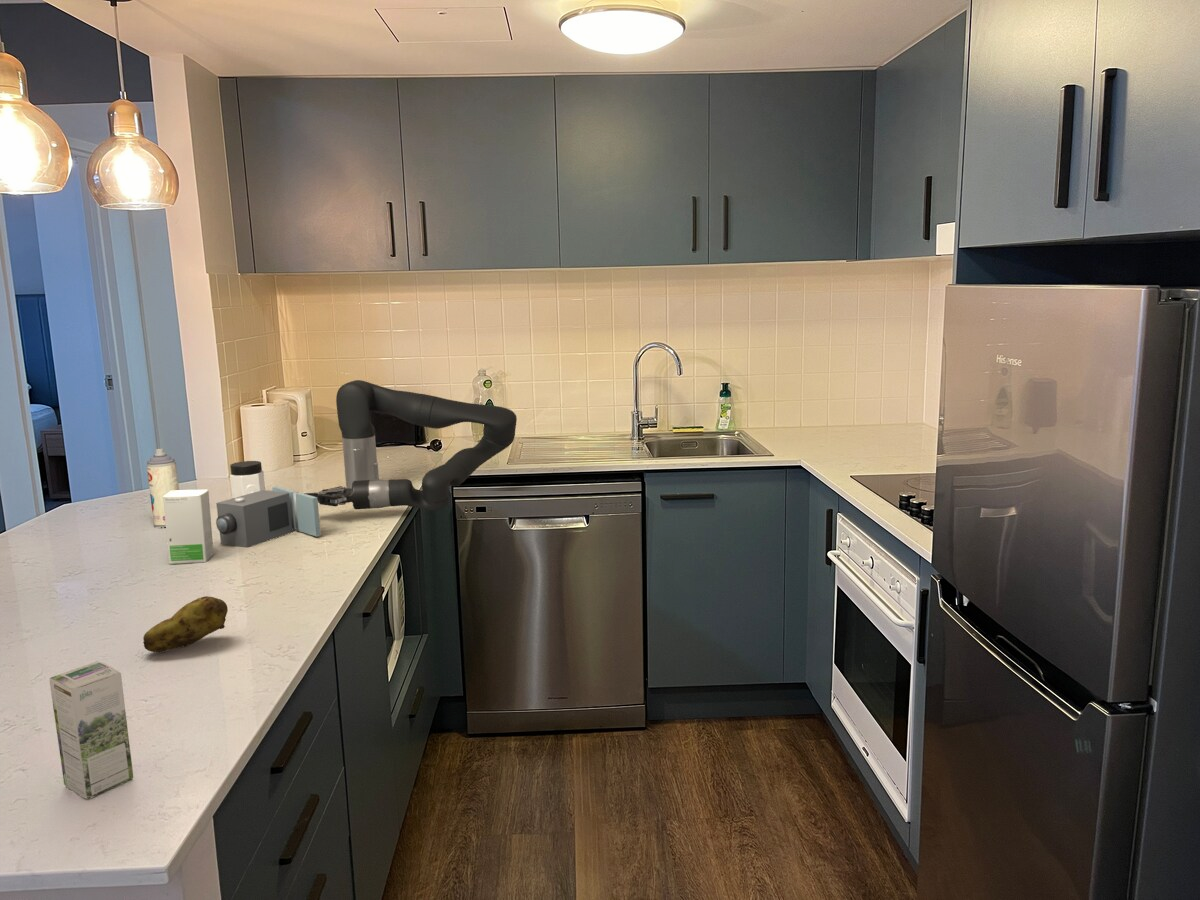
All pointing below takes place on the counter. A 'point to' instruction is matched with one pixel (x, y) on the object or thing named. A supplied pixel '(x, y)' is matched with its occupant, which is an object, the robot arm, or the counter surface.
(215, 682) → the counter surface
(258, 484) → the jar
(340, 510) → the counter surface
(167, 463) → the aerosol can
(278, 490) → the side door
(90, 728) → the syrup box
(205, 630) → the potato
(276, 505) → the block
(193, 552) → the skincare box
